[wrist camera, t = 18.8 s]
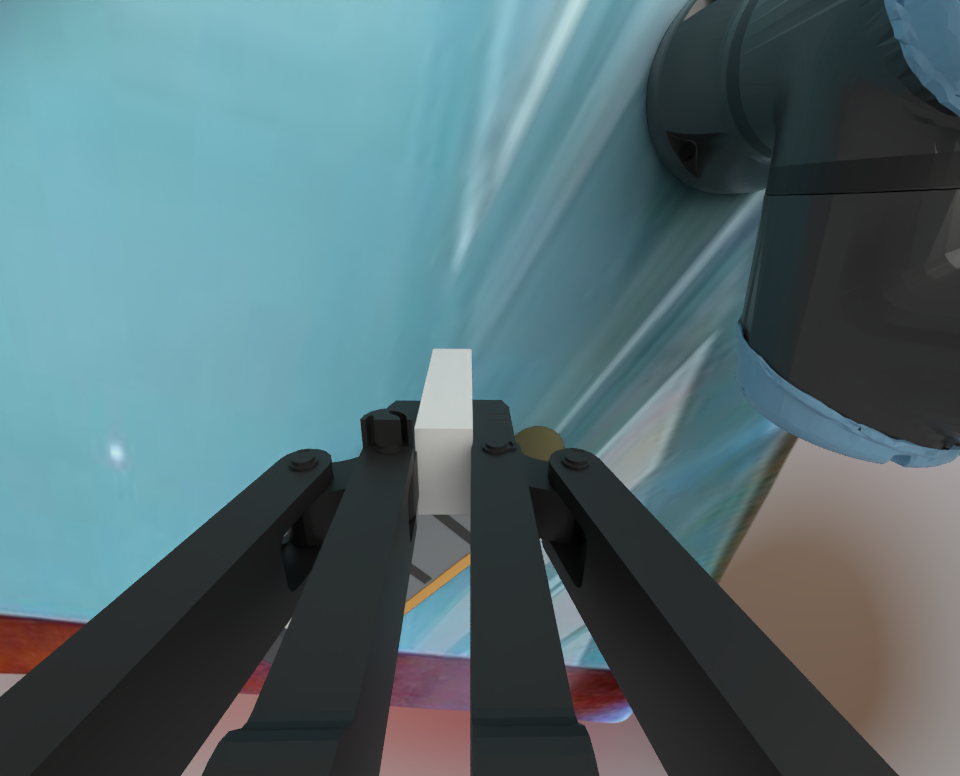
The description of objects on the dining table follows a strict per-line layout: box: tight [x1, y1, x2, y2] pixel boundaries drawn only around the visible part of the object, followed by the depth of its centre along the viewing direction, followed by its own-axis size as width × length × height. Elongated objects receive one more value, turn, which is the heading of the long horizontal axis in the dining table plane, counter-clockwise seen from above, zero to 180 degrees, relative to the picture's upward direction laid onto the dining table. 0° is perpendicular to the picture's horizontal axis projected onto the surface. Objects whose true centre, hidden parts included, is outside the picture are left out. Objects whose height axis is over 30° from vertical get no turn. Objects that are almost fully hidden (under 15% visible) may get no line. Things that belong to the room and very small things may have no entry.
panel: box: [285, 505, 471, 615], centre depth 51 cm, size 18×23×1 cm
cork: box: [515, 426, 565, 461], centre depth 42 cm, size 6×6×11 cm
